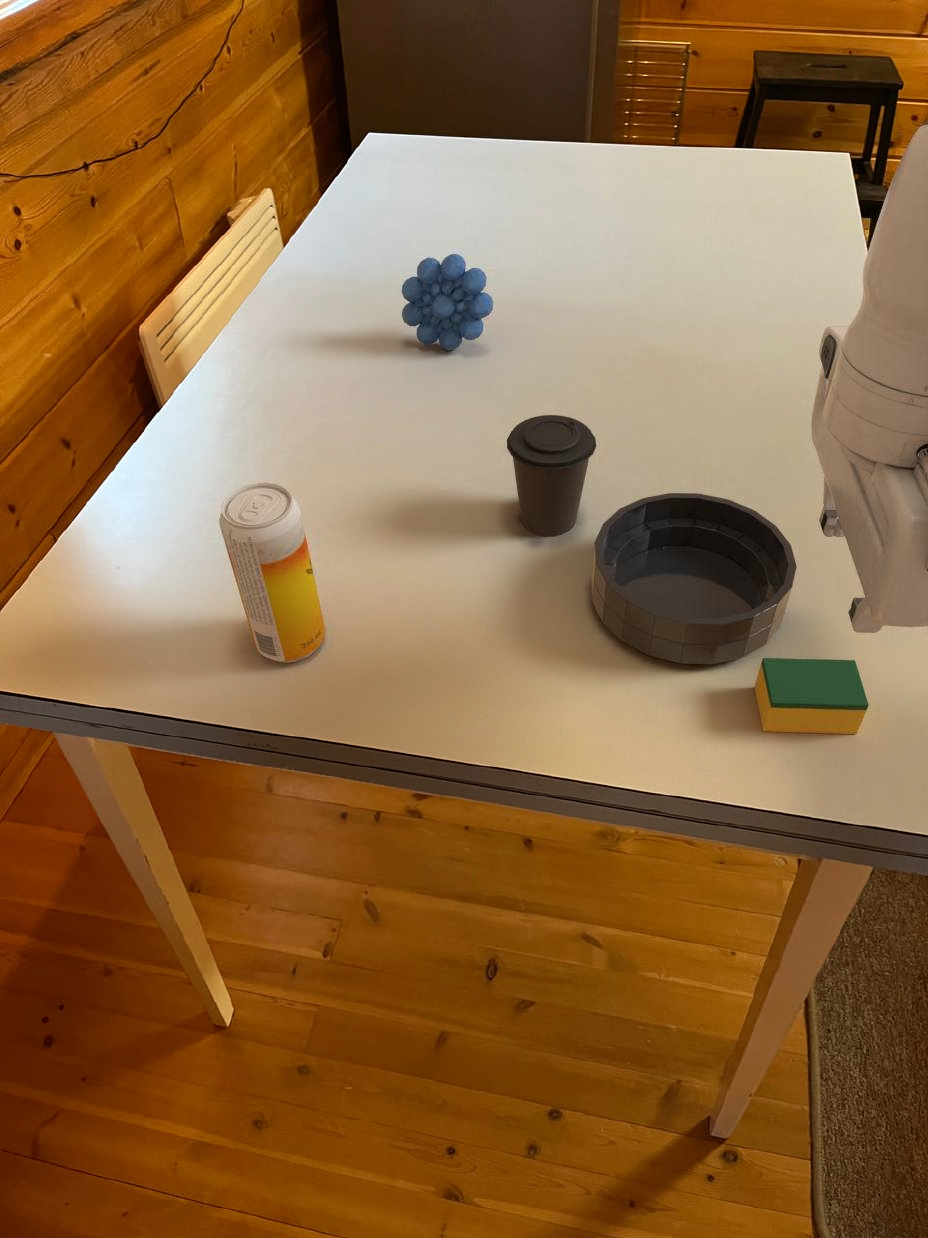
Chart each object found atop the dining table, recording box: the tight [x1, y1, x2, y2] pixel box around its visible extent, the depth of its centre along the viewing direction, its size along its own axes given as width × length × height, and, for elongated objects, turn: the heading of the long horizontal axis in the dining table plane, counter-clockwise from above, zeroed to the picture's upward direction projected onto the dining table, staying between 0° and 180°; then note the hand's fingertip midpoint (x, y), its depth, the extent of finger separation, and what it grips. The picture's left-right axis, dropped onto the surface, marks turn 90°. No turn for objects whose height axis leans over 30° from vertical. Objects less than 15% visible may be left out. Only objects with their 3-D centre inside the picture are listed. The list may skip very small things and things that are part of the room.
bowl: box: [591, 492, 798, 665], centre depth 79 cm, size 16×16×6 cm
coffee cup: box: [506, 414, 597, 537], centre depth 86 cm, size 8×8×10 cm
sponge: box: [753, 657, 870, 735], centre depth 71 cm, size 7×4×4 cm, turn 86°
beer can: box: [218, 481, 326, 664], centre depth 74 cm, size 6×6×15 cm
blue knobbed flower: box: [401, 253, 494, 351], centre depth 110 cm, size 12×7×12 cm, turn 70°
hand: (846, 575), depth 63 cm, fingers open, 8 cm apart
